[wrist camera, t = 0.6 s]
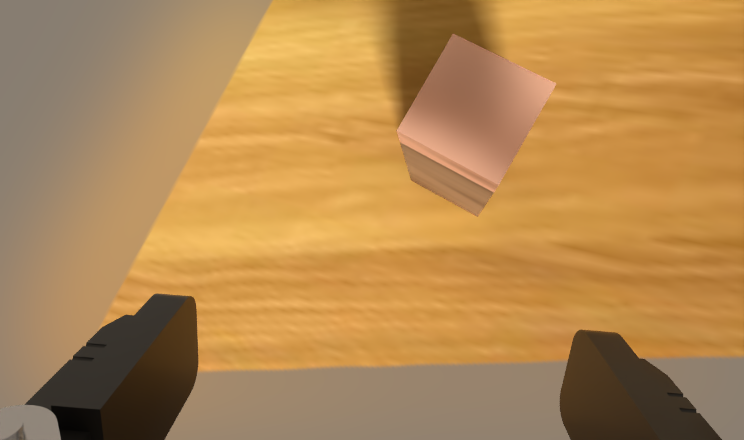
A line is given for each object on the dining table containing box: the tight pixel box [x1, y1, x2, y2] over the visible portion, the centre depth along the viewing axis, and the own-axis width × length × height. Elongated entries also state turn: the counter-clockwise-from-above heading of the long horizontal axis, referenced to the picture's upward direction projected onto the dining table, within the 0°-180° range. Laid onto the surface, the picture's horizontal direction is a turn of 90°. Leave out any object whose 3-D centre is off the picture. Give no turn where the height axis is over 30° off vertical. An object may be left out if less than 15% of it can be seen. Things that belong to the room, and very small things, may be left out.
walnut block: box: [397, 34, 556, 217], centre depth 28 cm, size 5×5×12 cm
